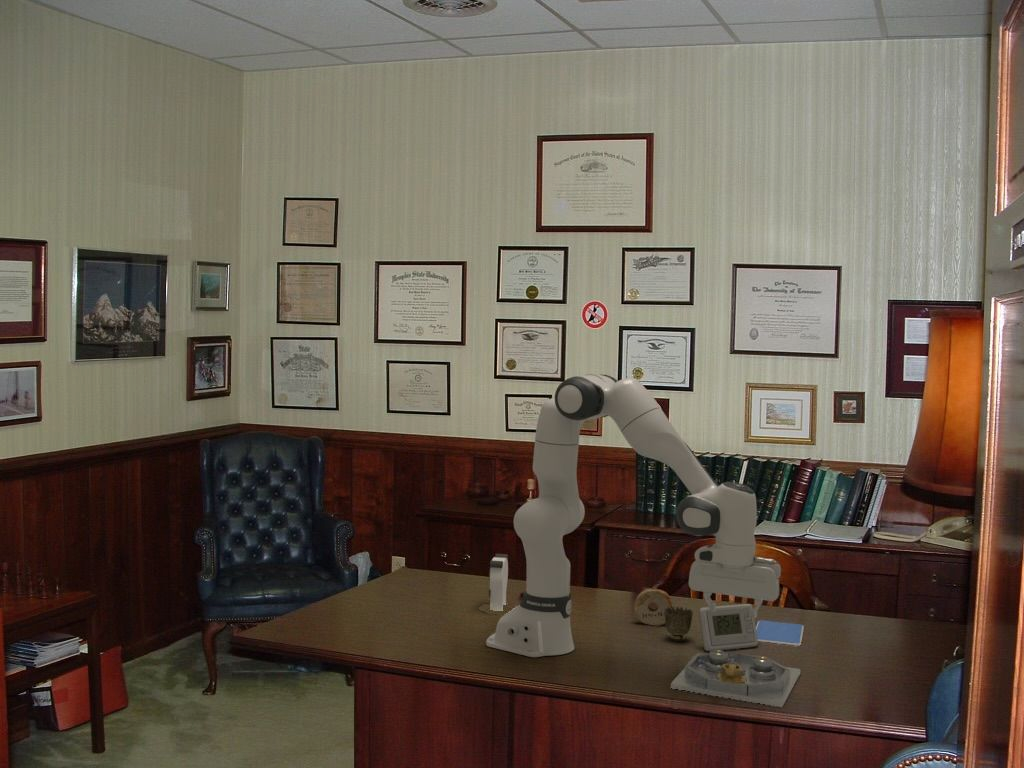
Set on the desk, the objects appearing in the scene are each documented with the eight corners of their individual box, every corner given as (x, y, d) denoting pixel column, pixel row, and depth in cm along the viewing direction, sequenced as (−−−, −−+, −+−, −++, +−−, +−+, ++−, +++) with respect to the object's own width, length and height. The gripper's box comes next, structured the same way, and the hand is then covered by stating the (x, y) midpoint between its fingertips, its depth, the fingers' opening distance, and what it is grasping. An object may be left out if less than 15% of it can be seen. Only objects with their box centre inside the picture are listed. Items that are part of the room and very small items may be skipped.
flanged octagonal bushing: (714, 685, 237) (714, 668, 237) (720, 677, 243) (721, 660, 243) (742, 690, 235) (743, 673, 234) (748, 681, 241) (749, 664, 240)
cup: (691, 645, 271) (692, 614, 271) (662, 642, 273) (663, 612, 272) (692, 637, 279) (693, 607, 278) (664, 634, 280) (665, 605, 280)
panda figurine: (482, 602, 308) (483, 551, 307) (520, 604, 307) (521, 554, 306) (475, 613, 296) (476, 560, 295) (514, 615, 295) (516, 563, 294)
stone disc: (671, 623, 291) (673, 588, 290) (671, 627, 287) (672, 591, 287) (634, 621, 293) (635, 585, 292) (633, 624, 289) (634, 589, 288)
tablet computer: (800, 648, 273) (801, 643, 273) (751, 643, 276) (751, 638, 276) (804, 629, 291) (804, 624, 291) (757, 624, 295) (757, 619, 295)
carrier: (670, 688, 238) (671, 664, 238) (697, 658, 261) (698, 635, 261) (782, 707, 228) (783, 682, 228) (800, 674, 251) (801, 650, 250)
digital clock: (703, 653, 265) (704, 612, 264) (691, 642, 274) (692, 602, 273) (763, 651, 268) (765, 610, 267) (750, 641, 277) (751, 601, 276)
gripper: (783, 557, 236) (780, 617, 237) (695, 546, 245) (692, 604, 246) (778, 562, 231) (775, 624, 231) (688, 551, 239) (685, 611, 240)
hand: (732, 614), depth 239 cm, fingers open, 8 cm apart
